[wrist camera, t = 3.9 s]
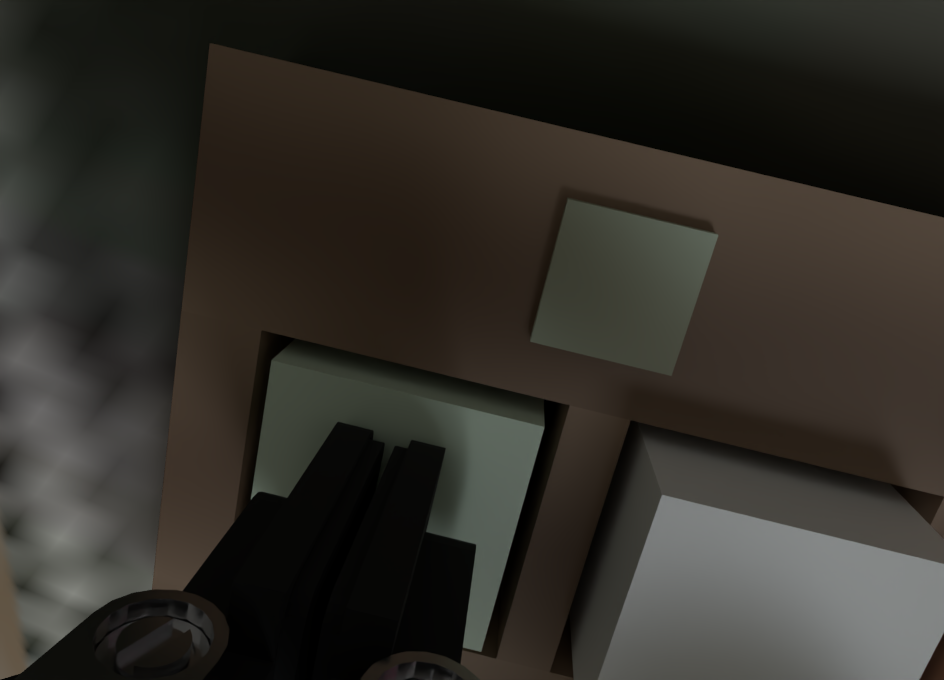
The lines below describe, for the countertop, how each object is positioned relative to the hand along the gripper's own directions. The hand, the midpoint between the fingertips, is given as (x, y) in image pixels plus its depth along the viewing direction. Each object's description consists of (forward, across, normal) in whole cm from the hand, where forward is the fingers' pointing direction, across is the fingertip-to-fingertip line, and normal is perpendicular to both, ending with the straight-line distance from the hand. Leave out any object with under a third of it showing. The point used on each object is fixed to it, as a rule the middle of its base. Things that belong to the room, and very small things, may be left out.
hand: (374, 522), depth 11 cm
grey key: (+2, -6, 0) cm, 6 cm away
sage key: (+3, 0, 0) cm, 3 cm away
